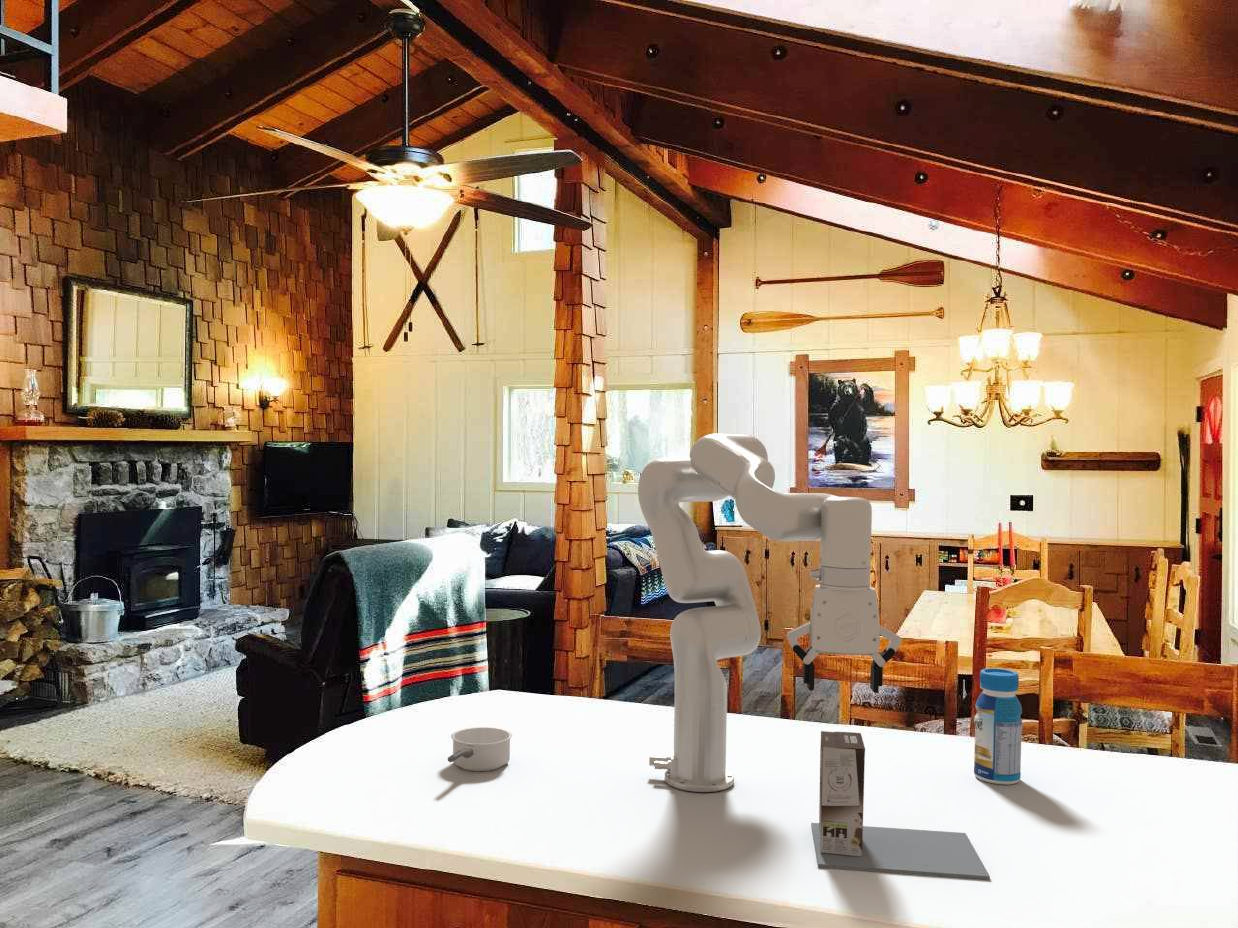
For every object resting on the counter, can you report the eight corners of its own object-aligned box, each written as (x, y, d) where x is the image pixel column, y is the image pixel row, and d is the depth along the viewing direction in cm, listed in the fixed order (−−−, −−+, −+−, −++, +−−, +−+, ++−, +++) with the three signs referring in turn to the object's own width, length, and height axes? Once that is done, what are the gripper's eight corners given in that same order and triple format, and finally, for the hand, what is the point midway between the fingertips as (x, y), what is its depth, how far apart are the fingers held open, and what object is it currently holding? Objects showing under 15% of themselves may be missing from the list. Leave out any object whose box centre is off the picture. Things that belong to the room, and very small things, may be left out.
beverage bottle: (1016, 789, 177) (1019, 679, 177) (968, 780, 181) (970, 672, 181) (1025, 776, 184) (1027, 670, 184) (978, 767, 189) (980, 664, 188)
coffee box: (863, 857, 144) (865, 749, 144) (819, 853, 146) (821, 745, 145) (860, 834, 153) (862, 731, 153) (818, 830, 155) (820, 728, 154)
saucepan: (420, 785, 174) (420, 754, 174) (465, 752, 193) (465, 724, 193) (480, 792, 171) (480, 760, 171) (520, 758, 190) (520, 729, 190)
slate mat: (817, 867, 142) (818, 863, 142) (811, 825, 158) (811, 822, 158) (989, 879, 139) (989, 876, 139) (965, 835, 155) (965, 832, 155)
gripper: (790, 579, 146) (787, 693, 146) (908, 582, 144) (905, 698, 145) (785, 573, 153) (782, 681, 154) (897, 576, 152) (894, 685, 152)
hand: (842, 689), depth 149 cm, fingers open, 9 cm apart
